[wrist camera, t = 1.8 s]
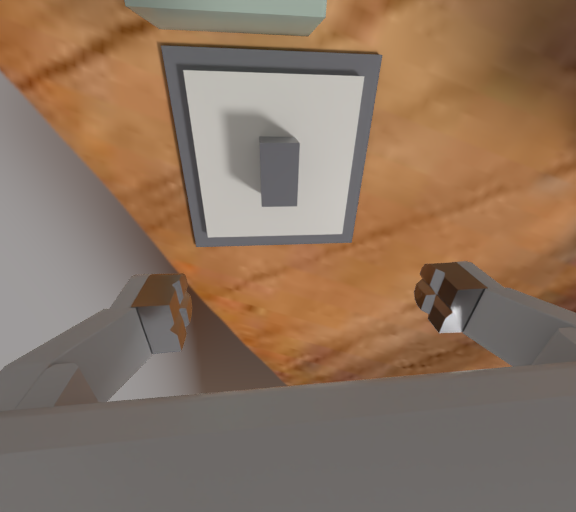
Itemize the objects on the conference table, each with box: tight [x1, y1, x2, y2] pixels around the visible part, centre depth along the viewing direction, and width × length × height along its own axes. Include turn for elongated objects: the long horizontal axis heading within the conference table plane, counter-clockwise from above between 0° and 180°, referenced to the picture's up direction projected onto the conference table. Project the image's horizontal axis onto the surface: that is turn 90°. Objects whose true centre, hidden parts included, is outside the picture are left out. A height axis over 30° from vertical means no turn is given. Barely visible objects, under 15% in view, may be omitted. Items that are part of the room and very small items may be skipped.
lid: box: [183, 70, 364, 238], centre depth 23 cm, size 14×14×4 cm
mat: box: [161, 46, 382, 247], centre depth 25 cm, size 17×17×1 cm
